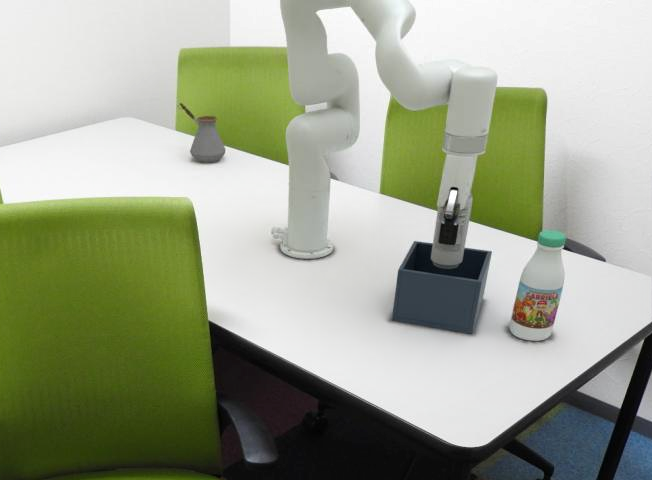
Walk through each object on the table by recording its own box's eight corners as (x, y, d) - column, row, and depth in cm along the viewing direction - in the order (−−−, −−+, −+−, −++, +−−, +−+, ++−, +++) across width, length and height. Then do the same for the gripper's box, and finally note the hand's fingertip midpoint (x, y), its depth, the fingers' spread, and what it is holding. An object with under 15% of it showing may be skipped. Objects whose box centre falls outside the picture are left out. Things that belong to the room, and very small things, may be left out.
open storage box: (391, 320, 152) (397, 269, 146) (407, 288, 164) (414, 240, 157) (471, 334, 146) (481, 282, 140) (482, 300, 158) (492, 251, 152)
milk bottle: (502, 324, 150) (523, 227, 138) (540, 321, 150) (563, 225, 139) (518, 343, 143) (541, 243, 132) (557, 340, 144) (584, 241, 132)
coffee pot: (232, 160, 244) (232, 111, 235) (203, 167, 238) (201, 117, 230) (195, 146, 258) (194, 99, 250) (167, 152, 253) (164, 105, 244)
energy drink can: (465, 261, 150) (478, 186, 141) (455, 272, 146) (468, 196, 137) (436, 255, 153) (447, 181, 144) (425, 266, 148) (436, 190, 140)
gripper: (451, 128, 144) (437, 220, 154) (434, 153, 131) (421, 251, 141) (492, 132, 141) (475, 224, 151) (479, 157, 128) (462, 257, 138)
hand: (449, 236), depth 146 cm, fingers closed on energy drink can, 6 cm apart
